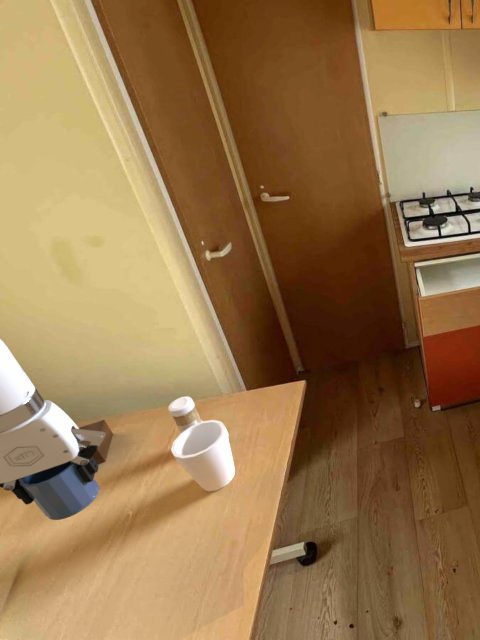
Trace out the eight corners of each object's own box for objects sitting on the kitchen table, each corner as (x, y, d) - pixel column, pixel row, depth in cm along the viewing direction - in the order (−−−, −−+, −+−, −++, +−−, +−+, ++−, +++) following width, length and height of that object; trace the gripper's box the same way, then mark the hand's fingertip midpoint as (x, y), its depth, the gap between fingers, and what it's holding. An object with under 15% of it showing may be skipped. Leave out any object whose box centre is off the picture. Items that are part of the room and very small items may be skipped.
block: (52, 480, 93) (41, 465, 91) (64, 450, 100) (53, 435, 98) (105, 461, 97) (95, 446, 95) (113, 433, 104) (104, 419, 102)
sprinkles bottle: (214, 434, 104) (195, 394, 98) (206, 449, 100) (186, 409, 94) (193, 437, 103) (173, 397, 97) (184, 453, 99) (163, 412, 93)
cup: (40, 527, 69) (11, 493, 65) (54, 493, 75) (27, 460, 70) (94, 507, 73) (70, 473, 68) (104, 476, 78) (81, 442, 74)
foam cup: (182, 492, 91) (159, 452, 85) (218, 455, 99) (199, 416, 93) (218, 502, 89) (197, 462, 83) (252, 464, 97) (235, 424, 91)
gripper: (-96, 455, 57) (-20, 532, 65) (76, 405, 65) (124, 479, 73) (-66, 417, 62) (0, 492, 71) (88, 375, 70) (131, 447, 79)
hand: (62, 485), depth 72 cm, fingers closed on cup, 6 cm apart
